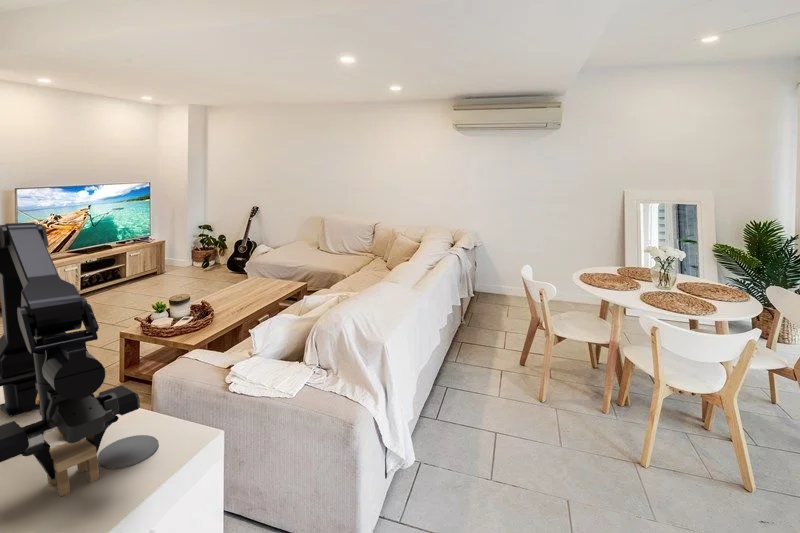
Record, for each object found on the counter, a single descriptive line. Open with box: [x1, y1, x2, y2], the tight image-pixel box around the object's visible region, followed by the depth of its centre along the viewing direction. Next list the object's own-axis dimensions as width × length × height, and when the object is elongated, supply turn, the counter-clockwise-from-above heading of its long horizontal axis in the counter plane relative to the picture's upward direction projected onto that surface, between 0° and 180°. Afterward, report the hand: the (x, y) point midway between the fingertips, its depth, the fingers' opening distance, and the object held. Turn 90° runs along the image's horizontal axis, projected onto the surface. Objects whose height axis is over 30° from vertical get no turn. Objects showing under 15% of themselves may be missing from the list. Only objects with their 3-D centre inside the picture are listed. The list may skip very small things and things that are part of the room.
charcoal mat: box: [97, 434, 159, 469], centre depth 74 cm, size 9×9×1 cm
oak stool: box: [46, 438, 100, 497], centre depth 66 cm, size 5×5×6 cm
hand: (72, 469), depth 66 cm, fingers closed on oak stool, 5 cm apart
